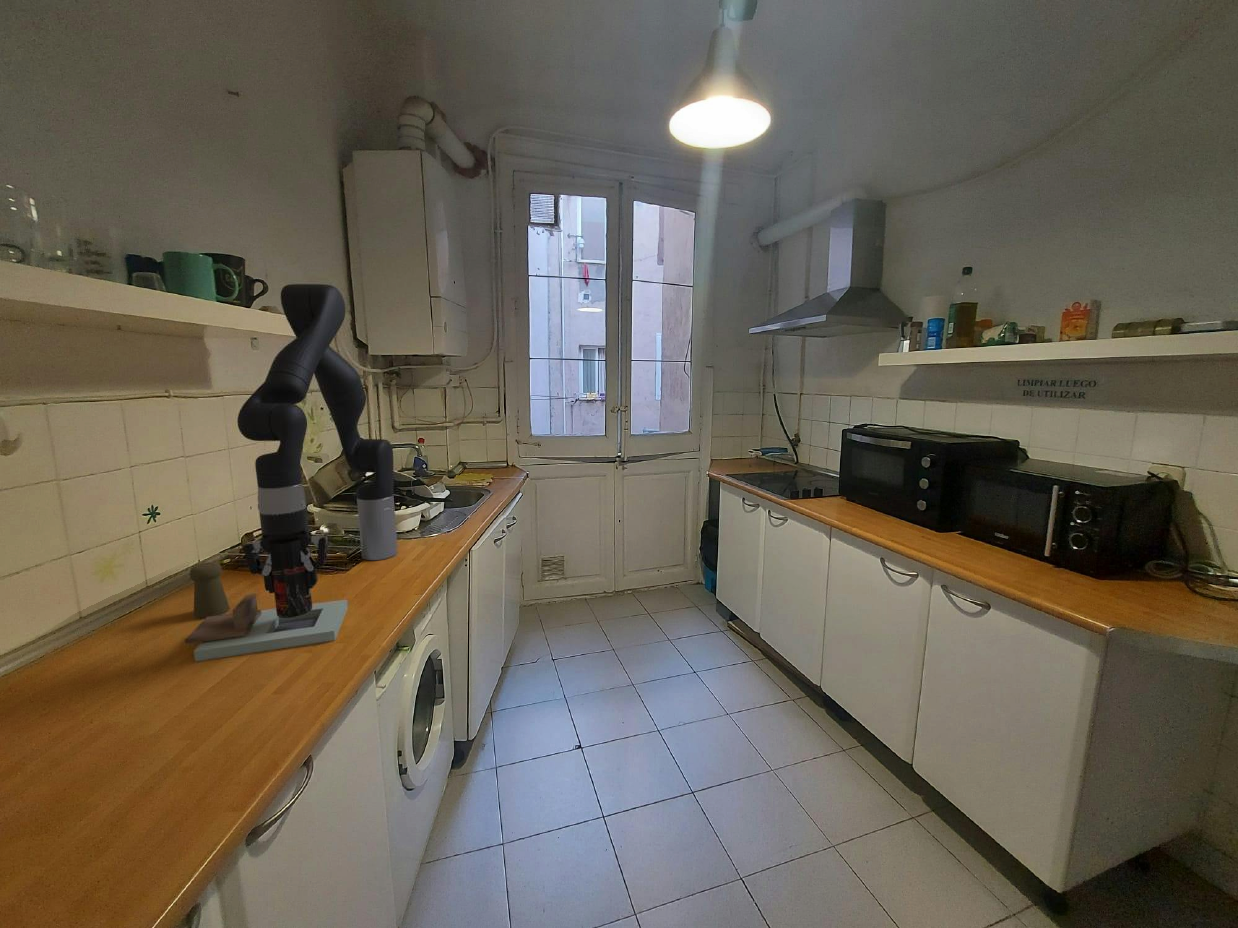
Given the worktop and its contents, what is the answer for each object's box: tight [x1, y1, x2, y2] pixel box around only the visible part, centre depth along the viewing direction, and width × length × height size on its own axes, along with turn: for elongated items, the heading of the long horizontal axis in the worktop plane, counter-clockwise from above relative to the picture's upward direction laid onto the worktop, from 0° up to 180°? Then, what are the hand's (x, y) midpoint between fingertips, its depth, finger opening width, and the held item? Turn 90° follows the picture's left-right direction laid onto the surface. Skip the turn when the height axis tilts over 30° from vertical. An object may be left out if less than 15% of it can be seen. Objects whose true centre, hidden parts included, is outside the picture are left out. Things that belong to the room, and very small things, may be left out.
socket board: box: [193, 599, 349, 662], centre depth 97 cm, size 14×22×2 cm, turn 110°
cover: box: [184, 593, 262, 645], centre depth 93 cm, size 9×9×5 cm
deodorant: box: [268, 539, 313, 618], centre depth 96 cm, size 6×6×15 cm
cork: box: [189, 561, 231, 620], centre depth 103 cm, size 6×6×11 cm
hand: (292, 588), depth 96 cm, fingers closed on deodorant, 6 cm apart
